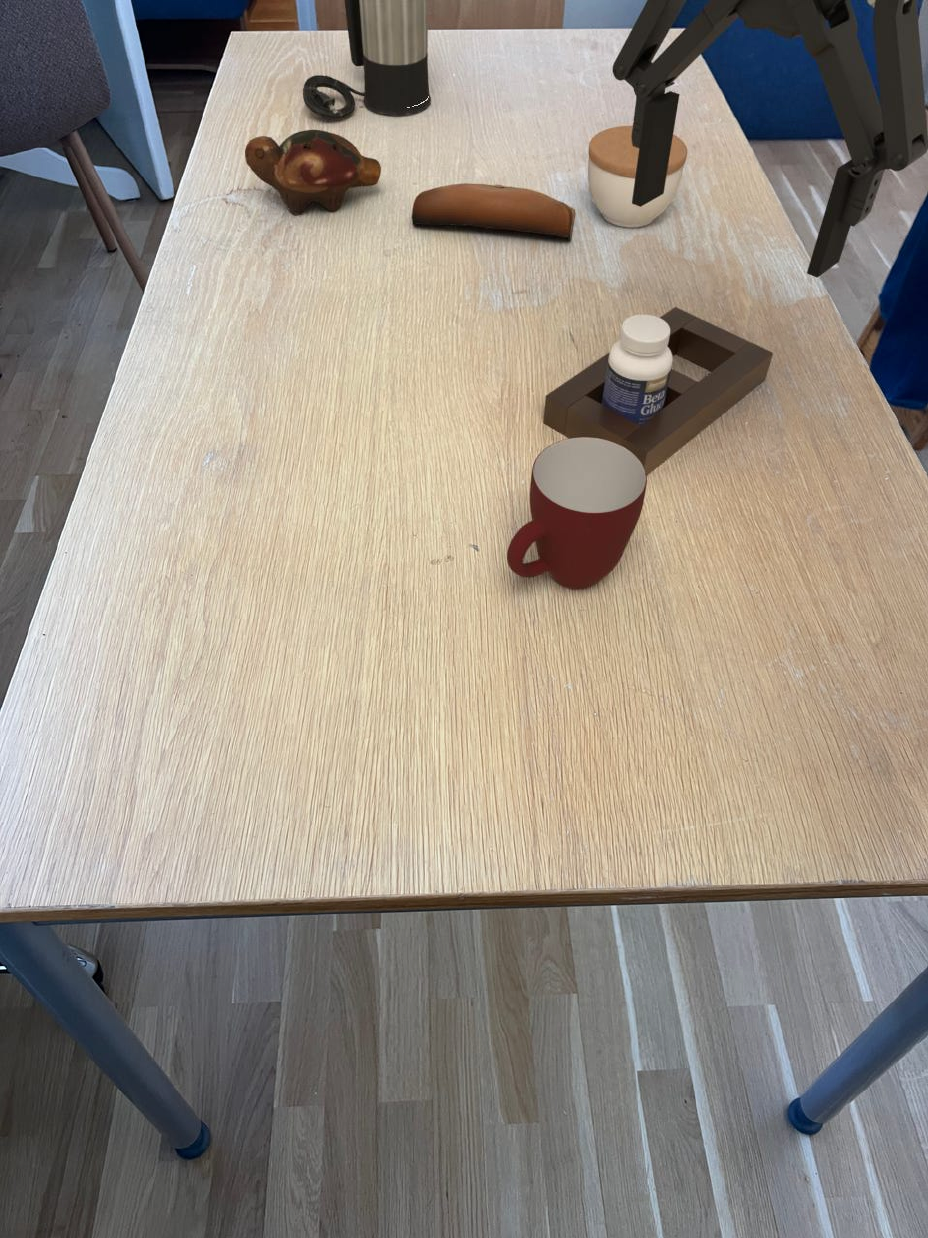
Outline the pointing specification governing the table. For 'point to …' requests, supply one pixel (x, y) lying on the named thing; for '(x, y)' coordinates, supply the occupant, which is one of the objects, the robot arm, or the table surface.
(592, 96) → the table surface
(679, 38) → the robot arm
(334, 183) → the decorative turtle
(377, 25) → the milk frother
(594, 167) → the trinket box
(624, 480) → the mug
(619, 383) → the pill bottle
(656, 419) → the holder
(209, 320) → the table surface
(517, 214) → the sunglasses case
